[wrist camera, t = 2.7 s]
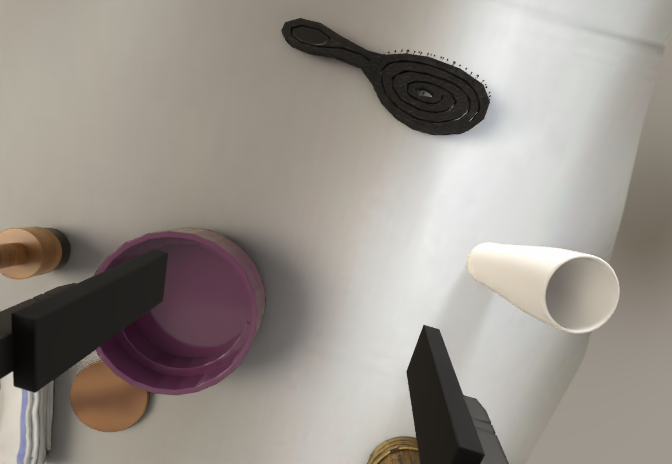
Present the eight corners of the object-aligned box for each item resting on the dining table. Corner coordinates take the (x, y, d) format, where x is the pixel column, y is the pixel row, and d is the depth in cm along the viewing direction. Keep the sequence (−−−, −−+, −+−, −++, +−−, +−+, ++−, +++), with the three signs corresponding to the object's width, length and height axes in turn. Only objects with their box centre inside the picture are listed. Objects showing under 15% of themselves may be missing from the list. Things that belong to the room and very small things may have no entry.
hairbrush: (294, -22, 34) (507, 74, 35) (298, 1, 38) (490, 87, 39) (265, 52, 35) (475, 145, 36) (271, 67, 38) (462, 151, 39)
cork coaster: (60, 376, 39) (56, 378, 38) (130, 347, 39) (127, 349, 39) (93, 440, 40) (90, 443, 39) (162, 411, 40) (159, 414, 39)
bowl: (96, 261, 38) (55, 271, 32) (231, 205, 39) (215, 205, 33) (158, 388, 40) (130, 420, 34) (288, 333, 40) (282, 356, 34)
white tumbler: (520, 250, 41) (636, 275, 26) (495, 297, 41) (596, 348, 26) (474, 227, 40) (566, 238, 25) (450, 275, 41) (526, 314, 26)
